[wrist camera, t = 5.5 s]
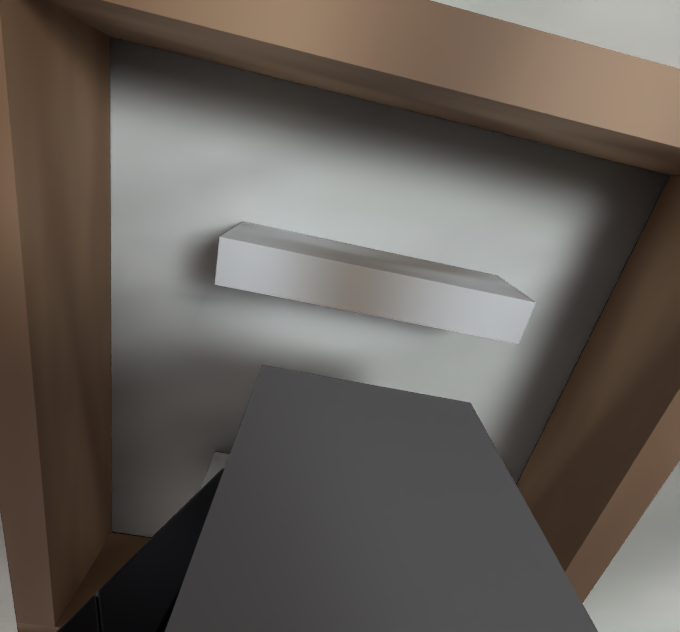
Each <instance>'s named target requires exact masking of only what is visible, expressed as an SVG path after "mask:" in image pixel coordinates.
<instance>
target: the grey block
mask: <svg viewBox="0 0 680 632" xmlns="http://www.w3.org/2000/svg"><path fill="white" fill-rule="evenodd" d="M165 632H598V631H597V629H596V627H595V625H594V624H593V622H592V620H591V618H590V616H589V615H588V613H587V611H586V609H585V608H584V606H583V604H582V602H581V600H580V599H579V597H578V595H577V593H576V591H575V590H574V588H573V586H572V584H571V582H570V581H569V579H568V577H567V575H566V573H565V572H564V570H563V568H562V566H561V564H560V563H559V561H558V559H557V557H556V555H555V554H554V552H553V550H552V548H551V547H550V545H549V543H548V541H547V539H546V538H545V536H544V534H543V532H542V530H541V529H540V527H539V525H538V523H537V521H536V520H535V518H534V516H533V514H532V512H531V511H530V509H529V507H528V505H527V503H526V502H525V500H524V498H523V496H522V494H521V493H520V491H519V489H518V487H517V485H516V484H515V482H514V480H513V478H512V477H511V475H510V473H509V471H508V469H507V468H506V466H505V464H504V462H503V460H502V459H501V457H500V455H499V453H498V451H497V450H496V448H495V446H494V444H493V442H492V441H491V439H490V437H489V435H488V433H487V432H486V430H485V428H484V426H483V424H482V423H481V421H480V419H479V417H478V416H477V414H476V412H475V410H474V408H473V407H472V405H471V403H468V402H463V401H457V400H452V399H446V398H441V397H435V396H430V395H424V394H419V393H413V392H408V391H402V390H397V389H391V388H386V387H380V386H375V385H369V384H364V383H358V382H353V381H347V380H342V379H336V378H331V377H325V376H320V375H314V374H309V373H303V372H297V371H292V370H286V369H281V368H275V367H270V366H264V365H262V367H261V370H260V372H259V375H258V378H257V381H256V383H255V386H254V389H253V392H252V394H251V397H250V400H249V403H248V405H247V408H246V411H245V414H244V416H243V419H242V422H241V425H240V427H239V430H238V433H237V435H236V438H235V441H234V444H233V446H232V449H231V452H230V455H229V457H228V460H227V463H226V466H225V468H224V471H223V474H222V477H221V479H220V482H219V485H218V488H217V490H216V493H215V496H214V499H213V501H212V504H211V507H210V510H209V512H208V515H207V518H206V520H205V523H204V526H203V529H202V531H201V534H200V537H199V540H198V542H197V545H196V548H195V551H194V553H193V556H192V559H191V562H190V564H189V567H188V570H187V573H186V575H185V578H184V581H183V584H182V586H181V589H180V592H179V595H178V597H177V600H176V603H175V605H174V608H173V611H172V614H171V616H170V619H169V622H168V625H167V627H166V630H165Z"/></svg>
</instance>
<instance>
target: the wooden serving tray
mask: <svg viewBox="0 0 680 632" xmlns="http://www.w3.org/2000/svg"><path fill="white" fill-rule="evenodd" d="M110 37H114V38H118V39H122V40H126V41H130V42H134V43H138V44H142V45H146V46H150V47H154V48H158V49H163V50H167V51H171V52H175V53H179V54H183V55H187V56H191V57H195V58H199V59H203V60H207V61H211V62H215V63H219V64H223V65H227V66H231V67H235V68H239V69H243V70H247V71H251V72H256V73H260V74H264V75H268V76H272V77H276V78H280V79H284V80H288V81H292V82H296V83H300V84H304V85H308V86H312V87H316V88H320V89H324V90H328V91H332V92H336V93H340V94H344V95H349V96H353V97H357V98H361V99H365V100H369V101H373V102H377V103H381V104H385V105H389V106H393V107H397V108H401V109H405V110H409V111H413V112H417V113H421V114H425V115H429V116H433V117H437V118H442V119H446V120H450V121H454V122H458V123H462V124H466V125H470V126H474V127H478V128H482V129H486V130H490V131H494V132H498V133H502V134H506V135H510V136H514V137H518V138H522V139H526V140H530V141H535V142H539V143H543V144H547V145H551V146H555V147H559V148H563V149H567V150H571V151H575V152H579V153H583V154H587V155H591V156H595V157H599V158H603V159H607V160H611V161H615V162H619V163H623V164H628V165H632V166H636V167H640V168H644V169H648V170H652V171H656V172H660V173H664V174H668V175H670V177H669V179H668V181H667V183H666V185H665V187H664V189H663V191H662V193H661V195H660V197H659V199H658V201H657V203H656V205H655V207H654V209H653V211H652V213H651V215H650V217H649V219H648V221H647V223H646V225H645V227H644V229H643V231H642V233H641V235H640V237H639V239H638V241H637V243H636V245H635V247H634V249H633V251H632V253H631V255H630V257H629V259H628V261H627V263H626V265H625V268H624V270H623V272H622V274H621V276H620V278H619V280H618V282H617V284H616V286H615V288H614V290H613V292H612V294H611V296H610V298H609V300H608V302H607V304H606V306H605V308H604V310H603V312H602V314H601V316H600V318H599V320H598V322H597V324H596V326H595V328H594V330H593V332H592V334H591V336H590V338H589V340H588V342H587V344H586V346H585V348H584V350H583V352H582V354H581V356H580V358H579V360H578V362H577V364H576V366H575V368H574V370H573V372H572V374H571V376H570V378H569V380H568V382H567V384H566V386H565V388H564V390H563V392H562V394H561V396H560V398H559V400H558V402H557V404H556V406H555V408H554V410H553V412H552V414H551V416H550V418H549V420H548V422H547V424H546V426H545V428H544V430H543V432H542V434H541V436H540V438H539V440H538V442H537V444H536V446H535V449H534V451H533V453H532V455H531V457H530V459H529V461H528V463H527V465H526V467H525V469H524V471H523V473H522V475H521V477H520V479H519V481H518V483H517V487H518V489H519V491H520V493H521V494H522V496H523V498H524V500H525V502H526V503H527V505H528V507H529V509H530V511H531V512H532V514H533V516H534V518H535V520H536V521H537V523H538V525H539V527H540V529H541V530H542V532H543V534H544V536H545V538H546V539H547V541H548V543H549V545H550V547H551V548H552V550H553V552H554V554H555V555H556V557H557V559H558V561H559V563H560V564H561V566H562V568H563V570H564V572H565V573H566V575H567V577H568V579H569V581H570V582H571V584H572V586H573V588H574V590H575V591H576V593H577V595H578V597H579V599H580V600H581V602H582V603H583V602H584V600H585V599H586V597H587V596H588V594H589V593H590V591H591V590H592V588H593V587H594V585H595V584H596V583H597V581H598V580H599V578H600V577H601V575H602V574H603V572H604V571H605V569H606V568H607V566H608V565H609V563H610V562H611V560H612V559H613V557H614V556H615V555H616V553H617V552H618V550H619V549H620V547H621V546H622V544H623V543H624V541H625V540H626V538H627V537H628V535H629V534H630V532H631V531H632V529H633V528H634V526H635V525H636V524H637V522H638V521H639V519H640V518H641V516H642V515H643V513H644V512H645V510H646V509H647V507H648V506H649V504H650V503H651V501H652V500H653V498H654V497H655V496H656V494H657V493H658V491H659V490H660V488H661V487H662V485H663V484H664V482H665V481H666V479H667V478H668V476H669V475H670V473H671V472H672V470H673V469H674V467H675V466H676V465H677V463H678V462H679V460H680V69H678V68H674V67H670V66H667V65H663V64H659V63H656V62H652V61H649V60H645V59H641V58H638V57H634V56H630V55H627V54H623V53H619V52H616V51H612V50H609V49H605V48H601V47H598V46H594V45H590V44H587V43H583V42H579V41H576V40H572V39H568V38H565V37H561V36H558V35H554V34H550V33H547V32H543V31H539V30H536V29H532V28H528V27H525V26H521V25H518V24H514V23H510V22H507V21H503V20H499V19H496V18H492V17H488V16H485V15H481V14H478V13H474V12H470V11H467V10H463V9H459V8H456V7H452V6H448V5H445V4H441V3H438V2H434V1H430V0H0V511H1V518H2V525H3V532H4V539H5V546H6V553H7V560H8V567H9V573H10V580H11V587H12V594H13V601H14V608H15V615H16V622H17V629H18V632H56V631H57V630H58V629H59V628H60V627H61V626H62V625H63V624H64V623H65V622H67V621H68V620H69V619H70V618H71V617H72V616H73V615H74V614H75V613H76V612H77V611H78V610H79V609H80V608H81V607H82V606H83V605H84V604H85V603H86V602H87V601H88V600H89V599H90V598H91V597H92V596H94V595H95V596H97V592H98V590H99V589H100V588H101V587H102V586H103V585H104V584H105V583H106V582H107V581H108V580H110V579H111V578H112V577H113V576H114V575H115V574H116V573H117V572H118V571H119V570H120V569H121V568H122V567H123V566H124V565H125V564H126V563H127V562H128V561H129V560H130V559H131V558H132V557H133V556H134V555H135V554H136V553H137V552H138V551H139V550H140V549H141V548H142V547H143V546H144V545H145V544H146V543H147V542H148V541H149V540H150V539H151V538H147V537H140V536H132V535H125V534H118V533H112V512H111V200H110ZM215 285H219V286H224V287H230V288H235V289H240V290H245V291H250V292H255V293H260V294H265V295H270V296H275V297H280V298H285V299H291V300H296V301H301V302H306V303H311V304H316V305H321V306H326V307H331V308H336V309H341V310H346V311H352V312H357V313H362V314H367V315H372V316H377V317H382V318H387V319H392V320H397V321H402V322H407V323H413V324H418V325H423V326H428V327H433V328H438V329H443V330H448V331H453V332H458V333H463V334H468V335H473V336H479V337H484V338H489V339H494V340H499V341H504V342H509V343H514V344H519V342H520V340H521V337H522V335H523V333H524V330H525V328H526V326H527V323H528V321H529V318H530V316H531V314H532V311H533V309H534V307H535V304H536V302H535V301H533V300H532V299H530V298H529V297H528V296H526V295H525V294H523V293H522V292H520V291H519V290H518V289H516V288H515V287H513V286H512V285H510V284H509V283H508V282H506V281H505V280H503V279H502V278H500V277H499V276H497V275H492V274H487V273H483V272H478V271H473V270H469V269H464V268H459V267H455V266H450V265H445V264H440V263H436V262H431V261H426V260H422V259H417V258H412V257H407V256H403V255H398V254H393V253H389V252H384V251H379V250H375V249H370V248H365V247H360V246H356V245H351V244H346V243H342V242H337V241H332V240H327V239H323V238H318V237H313V236H309V235H304V234H299V233H295V232H290V231H285V230H280V229H276V228H271V227H266V226H262V225H257V224H252V223H247V222H241V223H240V224H238V225H237V226H235V227H234V228H232V229H231V230H229V231H228V232H226V233H225V234H223V235H221V236H220V237H219V246H218V256H217V267H216V277H215ZM229 455H230V454H225V453H219V452H215V454H214V456H213V459H212V461H211V463H210V466H209V468H208V471H207V473H206V476H205V478H204V480H203V483H202V485H201V488H200V490H201V489H202V488H203V487H204V486H205V485H206V484H207V483H208V482H209V481H210V480H211V479H212V478H213V477H214V476H215V475H216V474H217V473H218V472H219V471H220V470H221V469H222V468H225V466H226V463H227V460H228V457H229ZM200 490H199V491H200Z"/></svg>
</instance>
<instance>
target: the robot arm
mask: <svg viewBox="0 0 680 632" xmlns="http://www.w3.org/2000/svg"><path fill="white" fill-rule="evenodd" d="M223 471H224V468H222V469H221V470H220V471H219V472H218V473H217V474H216V475H215V476H214V477H213V478H212V479H211V480H210V481H209V482H208V483H207V484H206V485H205V486H204V487H203V488H202V489H201V490H200V491H199V492H197V493H196V494H195V495H194V496H193V497H192V498H191V499H190V500H189V501H188V502H187V503H186V504H185V505H184V506H183V507H182V508H181V509H180V510H179V511H178V512H177V513H176V514H175V515H174V516H173V517H172V518H171V519H170V520H169V521H168V522H167V523H166V524H165V525H164V526H163V527H162V528H161V529H160V530H159V531H158V532H157V533H156V534H155V535H154V536H153V537H152V538H151V539H150V540H149V541H148V542H147V543H146V544H145V545H144V546H143V547H142V548H141V549H140V550H139V551H138V552H137V553H136V554H135V555H134V556H133V557H132V558H131V559H130V560H129V561H128V562H127V563H126V564H125V565H124V566H123V567H122V568H121V569H120V570H119V571H118V572H117V573H116V574H115V575H114V576H113V577H112V578H111V579H110V580H108V581H107V582H106V583H105V584H104V585H103V586H102V587H101V588H100V589H99V590H98V592H97V596H95V595H94V596H92V597H91V598H90V599H89V600H88V601H87V602H86V603H85V604H84V605H83V606H82V607H81V608H80V609H79V610H78V611H77V612H76V613H75V614H74V615H73V616H72V617H71V618H70V619H69V620H68V621H67V622H65V623H64V624H63V625H62V626H61V627H60V628H59V629H58V630H57V631H56V632H165V630H166V627H167V625H168V622H169V619H170V616H171V614H172V611H173V608H174V605H175V603H176V600H177V597H178V595H179V592H180V589H181V586H182V584H183V581H184V578H185V575H186V573H187V570H188V567H189V564H190V562H191V559H192V556H193V553H194V551H195V548H196V545H197V542H198V540H199V537H200V534H201V531H202V529H203V526H204V523H205V520H206V518H207V515H208V512H209V510H210V507H211V504H212V501H213V499H214V496H215V493H216V490H217V488H218V485H219V482H220V479H221V477H222V474H223Z"/></svg>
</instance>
